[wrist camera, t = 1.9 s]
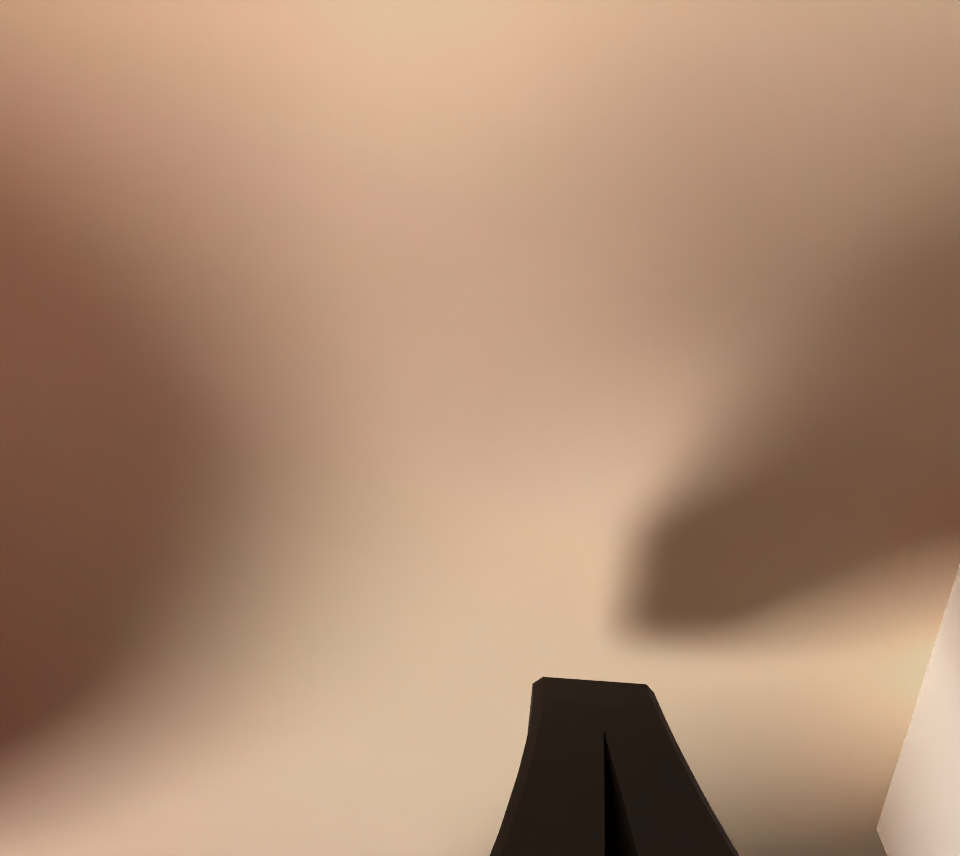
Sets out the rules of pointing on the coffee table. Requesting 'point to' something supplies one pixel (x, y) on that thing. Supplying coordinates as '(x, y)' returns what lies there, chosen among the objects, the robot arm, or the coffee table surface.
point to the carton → (930, 756)
